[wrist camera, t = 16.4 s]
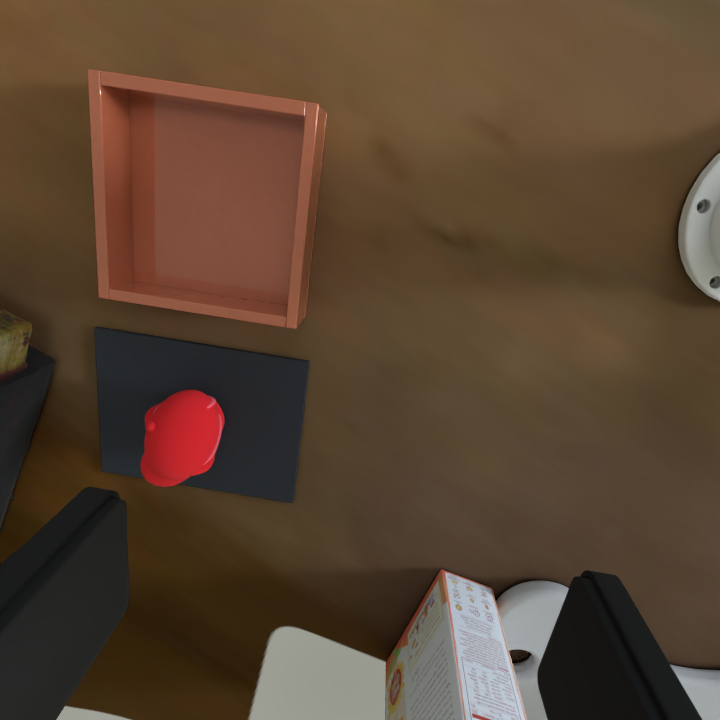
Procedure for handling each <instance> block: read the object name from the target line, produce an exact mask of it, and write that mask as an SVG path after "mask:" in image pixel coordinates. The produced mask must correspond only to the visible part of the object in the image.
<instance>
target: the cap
mask: <svg viewBox="0 0 720 720" xmlns="http://www.w3.org/2000/svg"><path fill="white" fill-rule="evenodd" d="M223 427H224V414H223V412H222V409H221V407H220V406H219V404H218V403H217V402H216V399H215V398H213V397H212V396H209V395H206V394H205V393H203V392H201V391H198V390H183V391H180V392H177V393H175V394H173V395H171V396H170V397H168V398H167V399H166V400H165V401H163V402H161V403H159V404H157V405H155V406H153V407H151V408H150V409H149V410H148V411H147V412H146V414H145V429H146V433H145V440H144V450H145V453H144V454H143V457H142V459H141V472H142V475H143V477H144V478H145V479H146V480H147V481H148V482H149V483H151V484H153V485H156V486H161V487H167V486H173V485H176V484H179V483H181V482H183V481H184V480H186V479H187V478H188V477H190V476H194V475H198V474H201V473H204V472H206V471H207V470H208V469H210V467H211V466H212V464H213V462H214V458H215V452H216V450H217V447H218V444H219V441H220V437H221V432H222V430H223Z"/></svg>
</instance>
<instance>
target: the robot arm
mask: <svg viewBox="0 0 720 720" xmlns="http://www.w3.org/2000/svg"><path fill="white" fill-rule="evenodd" d="M698 204H699V207H698V208H697V205H698ZM678 246H679V251H680V257H681V261H682V263H683V265H684V268H685V270H686V272H687V274H688V276H689V277H690V278H691V280H692V281H693V282H694V284H695V285H696V286H697V287H698V288H699V289H700V290H702V291H703V292H704V293H705V294H706V295H708V296H710V297H712V298H714V299H716V300H718V301H720V153H719V154H718V155H716V156H715V157H714V158H713V160H712V161H711V162H710V163H709V164H708V165H707V167H706V168H705V169H704V170H703V171H702V172H701V174H700V175H699V177H698V179H697V180H696V182H695V183H694V185H693V187H692V188H691V190H690V192H689V194H688V197H687V199H686V202H685V204H684V206H683V209H682V214H681V218H680V223H679V230H678ZM710 280H711V281H710ZM128 602H129V573H128V544H127V514H126V502H125V501H124V500H120V497H119V494H118V492H116V491H111V490H105V489H99V488H93V487H87V488H85V489H84V490H82V491H81V492H80V493H79V494H78V495H77V496H76V497H75V498H74V499H73V500H71V501H70V502H69V503H68V504H67V505H66V506H65V507H64V508H63V509H62V510H61V511H60V512H59V513H58V514H57V515H55V516H54V517H53V518H52V519H51V520H50V521H49V522H48V523H47V524H46V525H45V526H44V527H43V528H42V529H41V530H40V531H38V532H37V533H36V534H35V535H34V536H33V537H32V538H31V539H30V540H29V541H28V542H27V543H26V544H25V545H24V546H22V547H21V548H20V549H19V550H17V551H16V552H14V553H13V554H12V555H10V556H9V557H8V558H7V559H6V560H5V561H4V562H3V563H2V564H1V565H0V720H56V719H57V717H58V716H59V714H60V713H61V711H62V710H63V708H64V707H65V705H66V703H67V702H68V700H69V699H70V697H71V696H72V694H73V693H74V691H75V690H76V688H77V687H78V685H79V683H80V682H81V680H82V679H83V677H84V676H85V674H86V673H87V671H88V670H89V668H90V666H91V665H92V663H93V662H94V660H95V659H96V657H97V656H98V654H99V653H100V651H101V649H102V648H103V646H104V645H105V643H106V642H107V640H108V639H109V637H110V636H111V634H112V633H113V631H114V629H115V628H116V626H117V625H118V623H119V622H120V620H121V619H122V617H123V615H124V613H125V611H126V609H127V606H128ZM537 681H538V688H539V692H540V695H541V699H542V702H543V706H544V709H545V712H546V716H547V719H548V720H702V718H701V716H700V715H699V713H698V711H697V710H696V708H695V706H694V705H693V703H692V701H691V699H690V698H689V696H688V694H687V693H686V691H685V689H684V687H683V686H682V684H681V682H680V681H679V679H678V677H677V676H676V674H675V672H674V670H673V669H672V667H671V666H670V664H669V662H668V660H667V659H666V657H665V655H664V654H663V652H662V650H661V649H660V647H659V645H658V643H657V642H656V640H655V638H654V637H653V635H652V633H651V631H650V630H649V628H648V626H647V625H646V623H645V621H644V620H643V618H642V616H641V614H640V613H639V611H638V609H637V608H636V606H635V604H634V602H633V601H632V599H631V597H630V596H629V594H628V592H627V590H626V589H625V587H624V585H623V584H622V582H621V581H620V579H619V578H618V577H617V576H615V575H611V574H605V573H599V572H593V571H584V572H583V573H582V574H581V576H580V577H574V578H573V580H572V582H571V584H570V587H569V590H568V592H567V595H566V597H565V600H564V603H563V605H562V608H561V610H560V613H559V615H558V618H557V621H556V623H555V626H554V628H553V631H552V634H551V636H550V639H549V641H548V644H547V646H546V649H545V652H544V654H543V657H542V659H541V662H540V665H539V668H538V673H537Z"/></svg>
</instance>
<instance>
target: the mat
mask: <svg viewBox="0 0 720 720" xmlns="http://www.w3.org/2000/svg"><path fill="white" fill-rule="evenodd" d="M94 331H95V350H96V369H97V387H98V406H99V425H100V443H101V462H102V471H103V472H109V473H115V474H121V475H126V476H132V477H138V478H144V477H143V475H142V472H141V459H142V457H143V454H144V453H145V450H144V440H145V433H146V429H145V414H146V412H147V411H148V410H149V409H150V408H151V407H153V406H155V405H157V404H159V403H161V402H163V401H165V400H166V399H167V398H168V397H170V396H171V395H173V394H175V393H177V392H180V391H183V390H198V391H201V392H203V393H205V394H206V395H209V396H212V397H213V398H215V399H216V402H217V403H218V404H219V406H220V407H221V409H222V412H223V414H224V427H223V430H222V432H221V437H220V441H219V444H218V447H217V450H216V452H215V458H214V462H213V464H212V466H211V467H210V469H208V470H207V471H206V472H204V473H201V474H198V475H194V476H190V477H188V478H187V479H186V480H184V481H183V482H181V483H179V484H180V485H186V486H192V487H198V488H204V489H210V490H216V491H222V492H228V493H234V494H240V495H246V496H252V497H258V498H264V499H270V500H276V501H282V502H288V503H293V501H294V492H295V483H296V474H297V466H298V457H299V448H300V439H301V430H302V422H303V413H304V404H305V395H306V387H307V378H308V369H309V361H307V360H300V359H294V358H288V357H282V356H276V355H269V354H263V353H257V352H251V351H245V350H238V349H232V348H226V347H220V346H213V345H207V344H201V343H195V342H189V341H182V340H176V339H170V338H164V337H158V336H151V335H145V334H139V333H133V332H127V331H120V330H114V329H108V328H102V327H95V328H94ZM144 479H145V478H144Z"/></svg>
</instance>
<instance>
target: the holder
mask: <svg viewBox="0 0 720 720" xmlns="http://www.w3.org/2000/svg"><path fill="white" fill-rule="evenodd" d="M568 590H569V588H567V587H565V586H563V585H561V584H558V583H554V582H550V581H529V582H525V583H521V584H518V585H516V586H514V587H511V588H510V589H508V590H507V591H505V592H504V593H503V594H502V595H501V596H500V597H499V598H498V599H497V601H496V604H497V608H498V612H499V615H500V619H501V623H502V626H503V630H504V634H505V638H506V642H507V645H508V649H509V650H514V649H521V650H525V651H528V652H530V653H531V656H530V657H529V658H528V659H527V660H525V661H523V662H520V663H513V668H514V672H515V676H516V679H517V683H518V687H519V691H520V695H521V698H522V702H523V706H524V710H525V713H526V717H527V720H548V719H547V716H546V712H545V709H544V706H543V702H542V699H541V695H540V692H539V688H538V681H537V673H538V668H539V665H540V662H541V659H542V657H543V654H544V652H545V649H546V646H547V644H548V641H549V639H550V636H551V634H552V631H553V628H554V626H555V623H556V621H557V618H558V615H559V613H560V610H561V608H562V605H563V603H564V600H565V597H566V595H567V592H568ZM670 666H671V667H672V669H673V670H674V672H675V674H676V676H677V677H678V679H679V681H680V682H681V684H682V686H683V687H684V689H685V691H686V693H687V694H688V696H689V698H690V699H691V701H692V703H693V705H694V706H695V708H696V710H697V711H698V713H699V715H700V716H701V718H702V720H720V670H704V669H693V668H686V667H680V666H675V665H671V664H670Z"/></svg>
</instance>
